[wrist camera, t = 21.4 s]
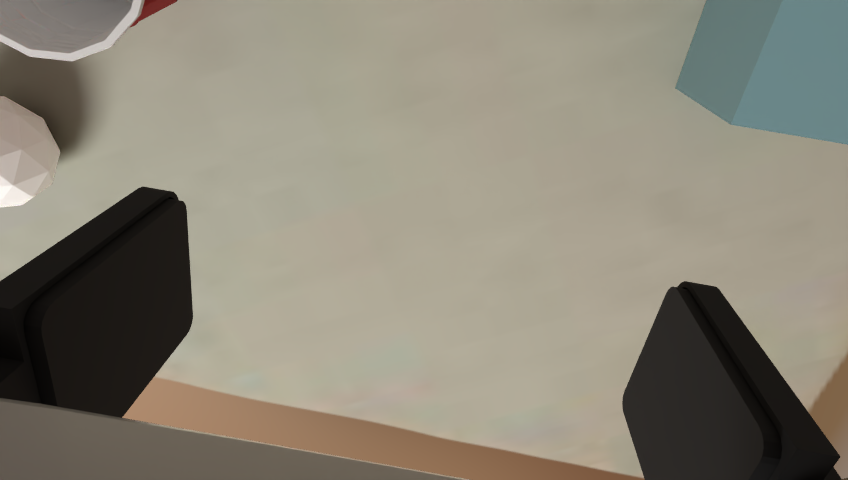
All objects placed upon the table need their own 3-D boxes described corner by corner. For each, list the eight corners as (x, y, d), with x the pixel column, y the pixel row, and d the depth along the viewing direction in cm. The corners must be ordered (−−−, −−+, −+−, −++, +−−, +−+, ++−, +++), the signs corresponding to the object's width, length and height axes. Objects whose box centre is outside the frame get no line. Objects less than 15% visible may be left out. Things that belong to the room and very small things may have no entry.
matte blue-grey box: (855, -24, 32) (978, -18, 24) (793, 108, 35) (883, 150, 27) (722, -46, 32) (802, -47, 24) (675, 87, 35) (730, 124, 27)
